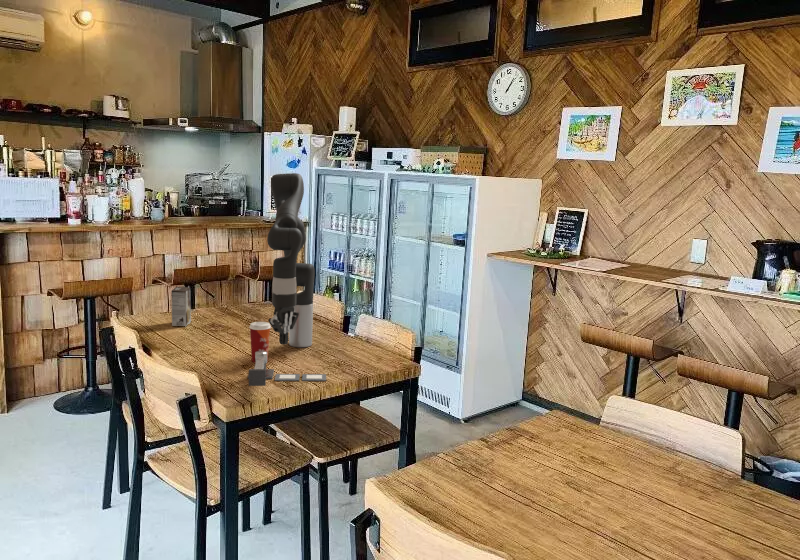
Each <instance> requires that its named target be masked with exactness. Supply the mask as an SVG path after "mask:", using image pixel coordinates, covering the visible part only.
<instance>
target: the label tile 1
mask: <svg viewBox="0 0 800 560" xmlns="http://www.w3.org/2000/svg"><path fill="white" fill-rule="evenodd" d="M300 375H301V374H300V373H276V374H275V378H274V382H300V377H301V376H300Z"/></svg>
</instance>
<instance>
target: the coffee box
mask: <svg viewBox="0 0 800 560" xmlns="http://www.w3.org/2000/svg"><path fill="white" fill-rule="evenodd" d="M191 299H192V298H191V287H186V286H175V287H174V288H173V289H172V290H171V327H172V326H185V327H184V328H186V326H187V325H188V324H189V325H190V323H192V301H191ZM189 325H188V326H189ZM188 326H187V327H188Z"/></svg>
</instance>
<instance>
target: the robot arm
mask: <svg viewBox="0 0 800 560" xmlns="http://www.w3.org/2000/svg"><path fill="white" fill-rule="evenodd" d="M304 183H305V182H304V180H303V177H302V175H301V174H300V173H296V172H293V173H292V172H291V173H276V174H273V175H272V176H271V179H270V187H271V188H270V189H271V193H272V198H273V201H274V202H273V203H274V205H275V211H276V212H275V221H274V224H273V225H272V226H271V227H270V229H269V231H268V233H267V236H266V237H267V238H266V239H267V241H266V242H267V245H268V247H269V248H270V249H272V250H273V251H283V255H284V256H281V257H276V258H274V260H273V266H272V273H273V274H272V276H273V278H272V285H271V287H272V289H271V293H272V294H271V295H272V296H271V297H272V298H271V304H272V306H273V307H274V310H273V316H272V318H271V317H269V319H268V323H269V324H270V326H271V328H272V329H273V331H274V332H275V333H278V334H279V336H278V337H279V338H278V339H279V340H278V341H279V344H280V345H284V346H285V345H289V346H291V347H293V348H307V347H311V346H312V345H313V325H314V324H313V322H314V318H313V317H314V287H315V286H314V285H315V274H316V272H315V266H314V264H312V263H301V262H298V255H299V253H300V252H301V250H302V249H303V247H304V246H305V243H306V241H307V236H306V228H305V225H304V222H303V221H302V220H301V218H300V217H299V211H300V208H301V206H302V205H301V204H302V202H303V198H304V192H305V186H304ZM297 287H304V290H302V291H300V292H297Z"/></svg>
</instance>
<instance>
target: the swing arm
mask: <svg viewBox="0 0 800 560" xmlns="http://www.w3.org/2000/svg"><path fill="white" fill-rule="evenodd" d="M267 363H268V360H267V351H257V352H255V364H254V368H249V369H248V375H249V379H248V387H266V384H267V383H266V382H267V379H266V369H267V368H266V369H264V364H266V365H267Z"/></svg>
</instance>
